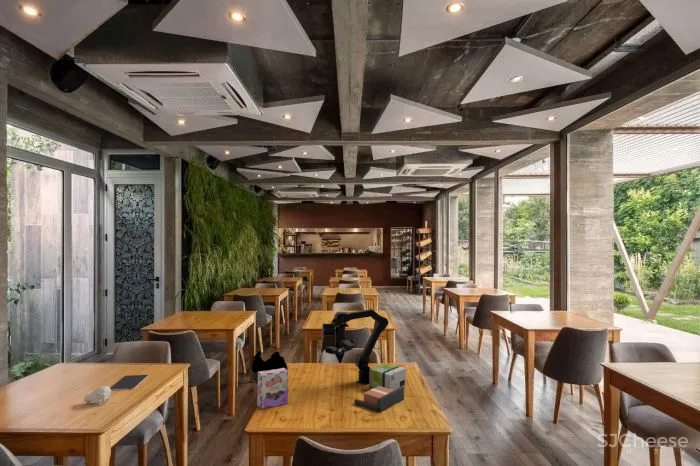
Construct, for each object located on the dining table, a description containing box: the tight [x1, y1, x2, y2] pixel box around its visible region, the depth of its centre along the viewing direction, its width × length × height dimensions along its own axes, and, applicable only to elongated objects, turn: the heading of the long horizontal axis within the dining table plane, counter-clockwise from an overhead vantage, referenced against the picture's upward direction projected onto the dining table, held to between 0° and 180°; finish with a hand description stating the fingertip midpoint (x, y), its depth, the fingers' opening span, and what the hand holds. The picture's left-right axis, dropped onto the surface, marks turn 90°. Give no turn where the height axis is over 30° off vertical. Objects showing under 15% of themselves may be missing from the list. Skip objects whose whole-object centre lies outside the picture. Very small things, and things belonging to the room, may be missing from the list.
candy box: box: [256, 368, 289, 410], centre depth 193 cm, size 14×6×16 cm, turn 117°
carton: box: [363, 386, 394, 406], centre depth 197 cm, size 10×13×5 cm
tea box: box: [368, 362, 407, 390], centre depth 218 cm, size 15×10×15 cm
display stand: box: [353, 386, 405, 414], centre depth 197 cm, size 16×21×6 cm
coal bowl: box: [250, 350, 289, 386], centre depth 217 cm, size 20×20×19 cm
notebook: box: [110, 374, 149, 391], centre depth 222 cm, size 13×2×21 cm
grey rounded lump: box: [83, 385, 112, 407], centre depth 194 cm, size 6×8×12 cm
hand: (340, 363), depth 221 cm, fingers closed
